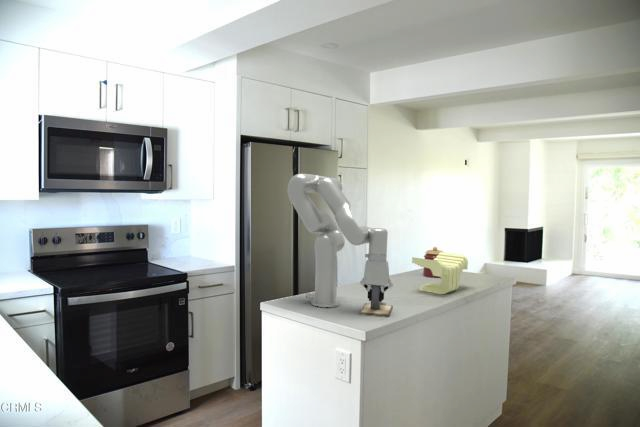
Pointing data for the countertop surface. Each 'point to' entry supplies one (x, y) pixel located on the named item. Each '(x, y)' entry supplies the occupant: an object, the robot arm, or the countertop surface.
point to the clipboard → (377, 310)
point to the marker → (375, 297)
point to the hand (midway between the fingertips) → (375, 300)
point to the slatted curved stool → (443, 271)
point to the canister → (431, 256)
